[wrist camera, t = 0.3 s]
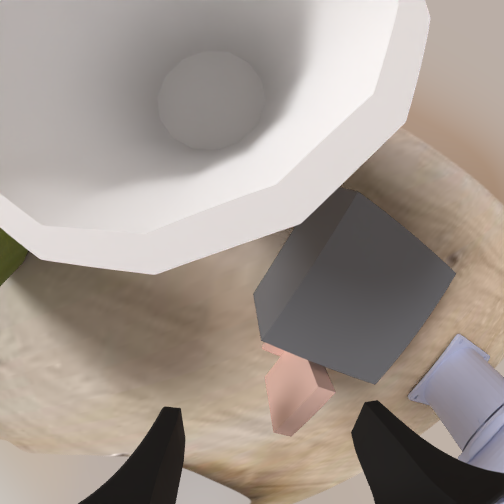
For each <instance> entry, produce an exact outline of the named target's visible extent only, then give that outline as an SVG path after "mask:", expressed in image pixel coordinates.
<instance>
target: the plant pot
mask: <svg viewBox="0 0 504 504" xmlns="http://www.w3.org/2000/svg"><path fill="white" fill-rule="evenodd" d="M27 252H28V250H27V249H26V248H25V247H23V246H22V245H21V244H20V243H18V242H17V241H16V240H15V239H13V238H12V237H11V236H10V235H9V234H7V233H6V232H5V231H4V230H3V229H1V228H0V286H1V285H2V284H3V283H4V282H5V281H6V280H7V279H8V278H9V277H10V276H11V274H12V273H13V272H14V271H15V270H16V269H17V268H18V267H19V266H20V265H21V264H22V263H23V261H24V259H25V257H26V254H27Z"/></svg>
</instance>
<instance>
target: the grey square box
mask: <svg viewBox="0 0 504 504" xmlns="http://www.w3.org/2000/svg"><path fill="white" fill-rule="evenodd" d="M455 275H456V273H455V272H454V271H453V270H452V269H451V268H450V267H449V266H448V265H447V264H446V263H445V262H443V261H442V260H441V259H440V258H439V257H438V256H437V255H436V254H435V253H434V252H432V251H431V250H430V249H429V248H428V247H427V246H426V245H424V244H423V243H422V242H421V241H420V240H419V239H418V238H416V237H415V236H414V235H413V234H412V233H410V232H409V231H408V230H407V229H406V228H404V227H403V226H402V225H401V224H400V223H398V222H397V221H396V220H395V219H393V218H392V217H391V216H390V215H388V214H387V213H386V212H384V211H383V210H382V209H381V208H379V207H378V206H377V205H375V204H374V203H373V202H371V201H370V200H369V199H368V198H366V197H365V196H363V195H362V194H361V193H359V192H358V191H354V190H349V189H345V188H340V187H339V188H338V189H337V190H335V191H334V192H333V193H332V194H331V195H330V196H329V197H328V198H327V199H326V200H325V201H324V202H323V203H322V204H321V205H320V206H319V207H318V208H317V209H316V210H315V211H314V212H313V213H311V214H310V215H309V216H308V217H307V218H306V219H305V220H304V221H303V222H302V223H301V224H299V225H296V226H295V228H294V230H293V231H292V233H291V235H290V236H289V238H288V239H287V241H286V243H285V244H284V246H283V247H282V249H281V251H280V252H279V254H278V256H277V257H276V259H275V260H274V262H273V264H272V265H271V267H270V268H269V270H268V271H267V273H266V275H265V276H264V278H263V279H262V281H261V283H260V284H259V286H258V287H257V289H256V290H255V292H254V294H253V295H254V301H255V307H256V313H257V319H258V324H259V330H260V336H261V341H263V342H265V343H268V344H270V345H272V346H275V347H277V348H279V349H282V350H284V351H287V352H289V353H291V354H294V355H296V356H299V357H301V358H304V359H306V360H309V361H311V362H314V363H317V364H319V365H322V366H324V367H327V368H330V369H332V370H335V371H338V372H341V373H343V374H346V375H349V376H352V377H354V378H357V379H360V380H363V381H366V382H369V383H372V384H376V383H377V382H378V381H379V380H380V378H381V377H382V376H383V375H384V374H385V373H386V372H387V370H388V369H389V368H390V367H391V366H392V364H393V363H394V362H395V361H396V360H397V358H398V357H399V356H400V355H401V353H402V352H403V351H404V350H405V348H406V347H407V346H408V344H409V343H410V342H411V341H412V339H413V338H414V337H415V335H416V334H417V333H418V331H419V330H420V328H421V327H422V326H423V324H424V323H425V321H426V320H427V319H428V317H429V316H430V314H431V313H432V311H433V310H434V308H435V307H436V305H437V304H438V302H439V301H440V299H441V298H442V296H443V294H444V293H445V291H446V290H447V288H448V286H449V285H450V283H451V281H452V280H453V278H454V276H455Z"/></svg>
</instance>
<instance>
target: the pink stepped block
mask: <svg viewBox="0 0 504 504" xmlns="http://www.w3.org/2000/svg"><path fill="white" fill-rule="evenodd" d="M262 349H263V350H266V351H268V352H271V353H273V354H275V355H278V356H280V358H279V359H278V361H277V362H276V363H275V365H274V366H273V367H272V368H271V370H270V371H269V372H268V373H267V375H266V376H265V383H266V389H267V395H268V401H269V407H270V413H271V420H272V426H273V432H274V433H278V434H283V435H287V436H292V435H293V434H294V433H296V432H297V431H298V430H299V429H300V428H301V427H302V426H303V425H304V424H305V423H306V422H307V421H308V420H309V419H310V418H311V417H312V416H313V415H314V414H315V413H316V412H317V411H318V410H319V409H320V408H321V407H322V406H323V405H324V404H325V403H326V402H327V401H328V400H329V399H330V398H331V397H332V396H333V395H334V394H335V393H336V392H335V389H334V387H333V385H332V383H331V380H330V378H329V376H328V373H327V371H326V369H325V367H324V366H322V365H319V364H317V363H314V362H311V361H309V360H306V359H304V358H301V357H299V356H296V355H294V354H291V353H289V352H287V351H284V350H282V349H279V348H277V347H275V346H272V345H270V344H268V343H265V342H264V343H263V344H262Z"/></svg>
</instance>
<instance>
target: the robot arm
mask: <svg viewBox="0 0 504 504" xmlns="http://www.w3.org/2000/svg"><path fill="white" fill-rule="evenodd" d="M489 359H490V356H489V355H488V354H487V353H485V352H484V351H483V350H481V349H480V348H479V347H477V346H476V345H475V344H473V343H472V342H471V341H469V340H468V339H466V338H465V337H464V336H462V335H461V334H457V335H456V336H455V337H454V339H453V340H452V342H451V343H450V344H449V346H448V347H447V348H446V350H445V351H444V352H443V354H442V355H441V356H440V358H439V359H438V360H437V361H436V363H435V364H434V365H433V366H432V368H431V369H430V370H429V371H428V373H427V374H426V375H425V376H424V377H423V378H422V380H421V381H420V382H419V383H418V384H417V385H416V387H415V388H414V389H413V390H412V391H411V392H410V393H409V395H408V398H409V400H412V401H416V402H419V403H423V404H427V405H430V406H431V407H432V409H433V410H434V411H435V413H436V414H437V416H438V417H439V418H440V420H441V421H442V423H443V424H444V426H445V427H446V428H447V430H448V431H449V433H450V434H451V435H452V437H453V438H454V440H455V441H456V443H457V444H458V446H459V447H460V449H461V450H462V453H461V455H460V456H459V457H458V459H459V460H458V459H456V458H453V457H452V456H450V455H448V454H446V453H444V452H443V451H441V450H439V449H437V448H436V447H434V446H433V445H431V444H430V443H428V442H427V441H426V440H424V439H423V438H421V437H420V436H419V435H417V434H416V433H415V432H414V431H412V430H411V429H410V428H409V427H408V426H406V425H405V424H404V423H403V422H402V421H400V420H399V419H398V418H397V417H396V416H395V415H394V414H392V413H391V412H390V411H389V410H388V409H387V408H386V407H385V406H383V405H382V404H381V403H380V402H379V401H378V400H376V401H370V402H365V403H364V405H363V407H362V410H361V412H360V414H359V417H358V419H357V421H356V423H355V426H354V428H353V430H352V432H351V434H352V438H353V443H354V447H355V450H356V454H357V456H358V459H359V461H360V464H361V466H362V469H363V471H364V474H365V476H366V479H367V481H368V484H369V486H370V489H371V491H372V494H373V497H374V501H375V504H504V377H503V376H502V375H500V374H499V372H498V371H496V370H495V369H494V368H493V367H492V366H491V365H490V364H489V363H488V360H489ZM184 451H185V433H184V427H183V421H182V414H181V408H173V407H163V408H162V410H161V412H160V414H159V415H158V417H157V419H156V421H155V422H154V424H153V426H152V427H151V429H150V430H149V432H148V433H147V435H146V436H145V438H144V439H143V440H142V442H141V443H140V445H139V446H138V447H137V449H136V450H135V451H134V452H133V454H132V455H131V456H130V457H129V459H128V460H127V461H126V462H125V463H124V465H123V466H122V467H121V468H120V469H119V470H118V471H117V472H116V473H115V474H114V475H113V476H112V477H111V478H110V479H109V480H108V481H107V482H106V483H104V484H103V485H102V486H101V487H100V488H99V489H97V490H96V491H95V492H94V493H93V494H91V495H90V496H89V497H87V498H86V499H84V500H83V501H81V502H80V503H78V504H175V503H176V498H177V492H178V487H179V482H180V477H181V472H182V467H183V462H184Z"/></svg>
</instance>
